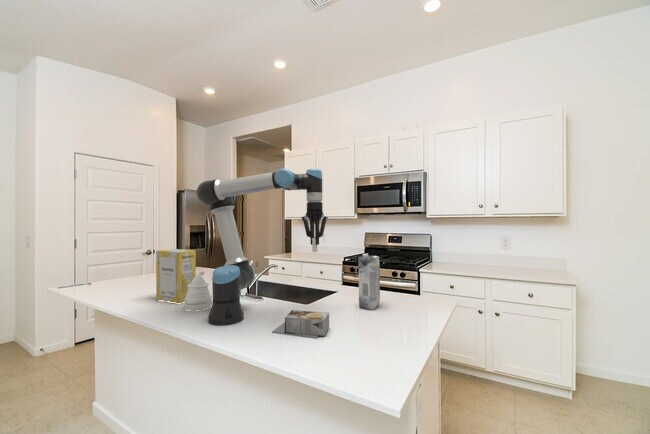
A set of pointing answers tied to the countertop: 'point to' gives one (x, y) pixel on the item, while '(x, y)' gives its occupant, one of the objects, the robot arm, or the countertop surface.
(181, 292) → the pasta box
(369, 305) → the juice carton
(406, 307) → the countertop surface
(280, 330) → the mat
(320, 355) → the countertop surface
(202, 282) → the honey pot
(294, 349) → the countertop surface
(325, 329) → the coffee box
